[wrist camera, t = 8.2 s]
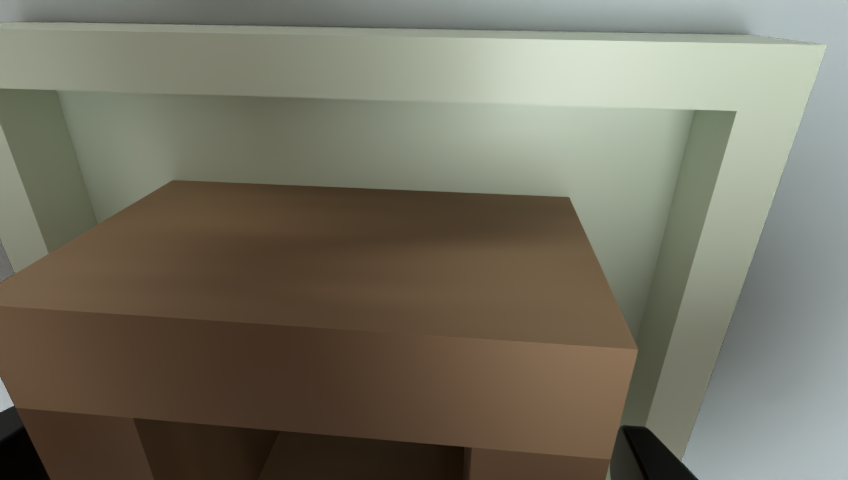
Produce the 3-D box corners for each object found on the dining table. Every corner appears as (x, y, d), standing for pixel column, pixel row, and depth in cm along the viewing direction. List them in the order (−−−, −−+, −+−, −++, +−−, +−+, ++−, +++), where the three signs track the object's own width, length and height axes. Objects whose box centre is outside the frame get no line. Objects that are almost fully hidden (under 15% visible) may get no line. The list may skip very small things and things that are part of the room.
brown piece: (569, 197, 8) (638, 349, 5) (520, 521, 12) (538, 743, 8) (172, 180, 9) (-35, 303, 5) (245, 494, 13) (153, 690, 9)
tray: (609, 533, 13) (629, 610, 11) (171, 488, 14) (130, 553, 12) (752, 35, 7) (827, 44, 6) (19, 21, 8) (-87, 27, 7)
